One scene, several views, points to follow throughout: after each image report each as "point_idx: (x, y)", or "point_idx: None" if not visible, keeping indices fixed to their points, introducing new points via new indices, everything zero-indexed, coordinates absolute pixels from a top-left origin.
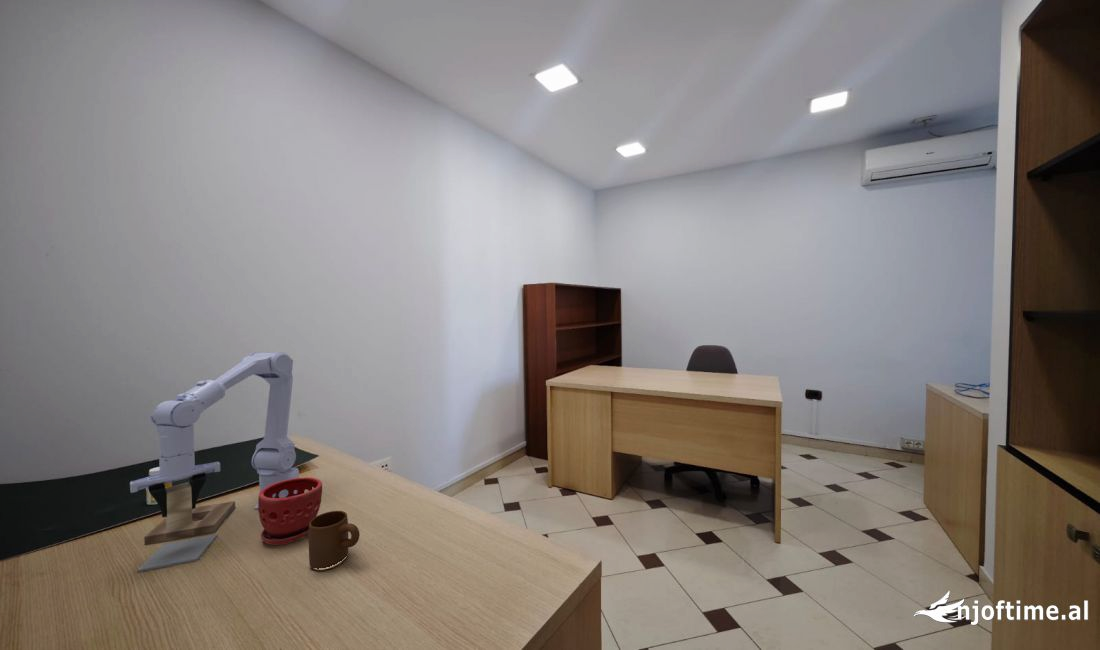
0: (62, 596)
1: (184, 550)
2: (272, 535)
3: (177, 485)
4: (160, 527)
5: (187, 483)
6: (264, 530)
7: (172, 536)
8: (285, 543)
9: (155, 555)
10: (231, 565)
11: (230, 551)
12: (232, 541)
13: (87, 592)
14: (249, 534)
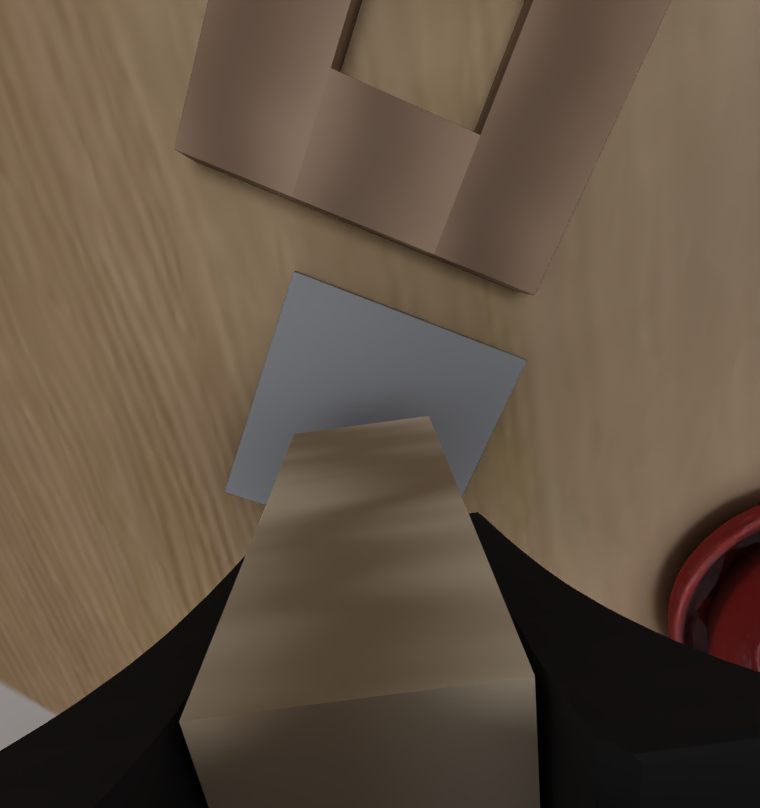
0: (4, 487)
1: None
2: None
3: (368, 730)
4: (244, 37)
5: (512, 739)
6: (706, 572)
7: (326, 212)
8: None
9: (272, 392)
10: None
11: (545, 561)
12: (568, 471)
13: (87, 520)
14: (642, 453)
